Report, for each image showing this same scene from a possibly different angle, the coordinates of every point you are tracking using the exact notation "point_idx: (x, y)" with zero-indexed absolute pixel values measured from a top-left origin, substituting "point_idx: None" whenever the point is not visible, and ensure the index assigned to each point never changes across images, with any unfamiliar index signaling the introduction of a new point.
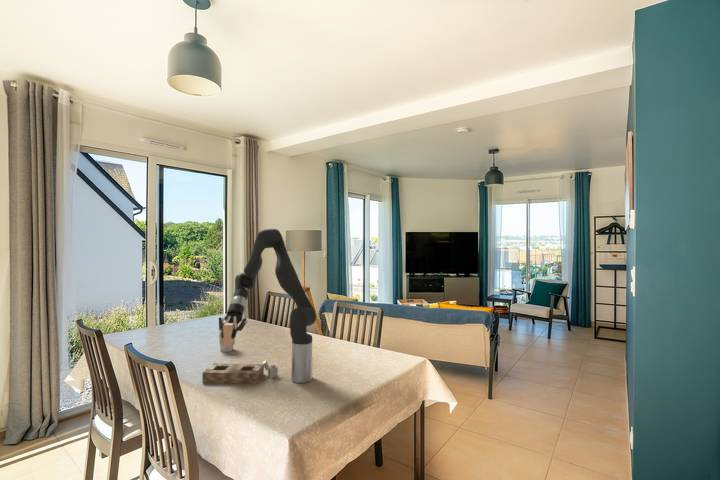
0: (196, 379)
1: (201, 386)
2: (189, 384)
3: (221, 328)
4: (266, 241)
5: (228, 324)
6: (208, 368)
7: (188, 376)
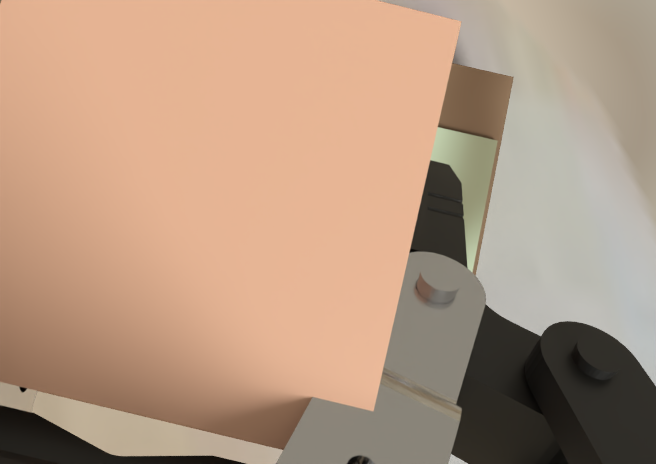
0: (551, 195)
1: (470, 27)
2: (579, 88)
3: (519, 340)
4: None
5: (217, 62)
6: (477, 164)
7: (643, 283)
